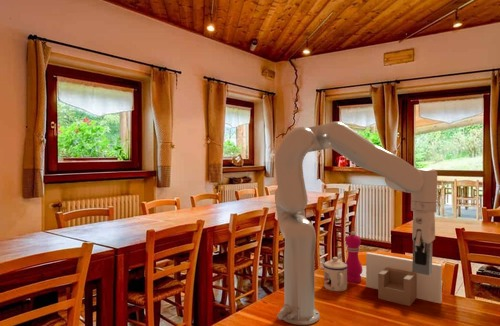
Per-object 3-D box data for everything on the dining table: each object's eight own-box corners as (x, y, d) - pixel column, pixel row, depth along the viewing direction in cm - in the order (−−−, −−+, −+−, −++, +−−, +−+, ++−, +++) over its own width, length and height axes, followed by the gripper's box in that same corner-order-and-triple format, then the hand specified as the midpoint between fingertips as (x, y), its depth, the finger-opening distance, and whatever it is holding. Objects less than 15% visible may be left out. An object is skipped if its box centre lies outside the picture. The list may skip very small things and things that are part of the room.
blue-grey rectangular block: (429, 275, 116) (429, 244, 115) (412, 272, 119) (413, 241, 119) (431, 272, 119) (432, 242, 118) (415, 269, 122) (416, 239, 121)
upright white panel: (434, 312, 118) (434, 272, 118) (357, 293, 135) (357, 258, 134) (441, 301, 127) (441, 264, 126) (368, 285, 143) (368, 252, 143)
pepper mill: (363, 283, 145) (363, 233, 144) (344, 282, 146) (344, 232, 145) (361, 277, 152) (361, 229, 151) (343, 276, 153) (343, 229, 153)
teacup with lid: (320, 283, 145) (320, 254, 144) (342, 282, 146) (342, 253, 146) (330, 295, 133) (330, 263, 133) (354, 294, 134) (354, 262, 134)
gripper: (429, 210, 109) (428, 271, 110) (442, 205, 122) (440, 259, 123) (403, 208, 114) (402, 266, 115) (418, 203, 127) (416, 255, 127)
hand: (422, 262), depth 119 cm, fingers closed on blue-grey rectangular block, 3 cm apart
